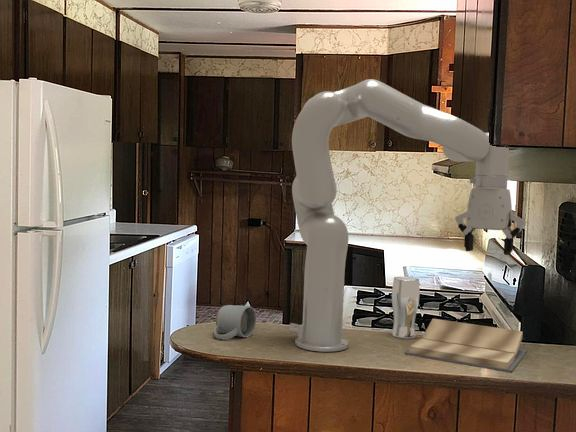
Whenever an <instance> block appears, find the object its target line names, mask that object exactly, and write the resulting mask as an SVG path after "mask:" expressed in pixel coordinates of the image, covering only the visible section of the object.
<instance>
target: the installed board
mask: <svg viewBox="0 0 576 432" xmlns="http://www.w3.org/2000/svg"><path fill="white" fill-rule="evenodd" d="M408 350H409V353H414V354H420V355H426V356H432V357H438V358H444V359H449V360H455V361H461V362H467V363H473V364H479V365H484V366H490V367H496V368H502V369H508V368H509V367H510V365H511V364H512V363H513V362H514V360H515V353H509V352H503V351H497V350H490V349H484V348H478V347H471V346H465V345H459V344H452V343H446V342H440V341H434V340H427V339H422V338H420V339H418V340H417V341H415V342H414V343H412V344H411V345H410V346H409V349H408Z"/></svg>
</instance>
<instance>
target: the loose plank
mask: <svg viewBox="0 0 576 432" xmlns="http://www.w3.org/2000/svg"><path fill="white" fill-rule="evenodd" d="M523 334H524V333H523V331H521V330H516V329H515V330H514V329H509V328H501V327H495V326H488V325H480V324H474V323H467V322H458V321H453V320H452V321H451V320H445V319H438V318H432V319H431V321H430V322H429V324H428V326H427V328H426V329H425V332H424V333H423V336H422V337H421V339H427V340H434V341H440V342H446V343H452V344H459V345H465V346H471V347H478V348H484V349H490V350H497V351H503V352H509V353H515V358H516V356H517V353H518V349H519V350H520V346H521V343H522V340H523Z"/></svg>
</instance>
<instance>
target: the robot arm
mask: <svg viewBox="0 0 576 432" xmlns="http://www.w3.org/2000/svg"><path fill="white" fill-rule="evenodd" d="M367 117H369V118H370V119H372V120H374V121H377V122H378V123H381V124H382V125H384V126H386V127H388V128H389V129H392V130H394V131H395V132H398V133H399V134H401V135H403V136H405V137H407V138H412V139H415V140H422V141H427V142H430V143H434V144H437V145H439V146H442V147H441V149H442V152H443V155H444V156H445V157H446V158H447V159H448V160H450V161H452V162H456V163H467V162H475V175H474V177H471V178H469V183H470V184H473V186H474V187H473V188H471V189H470V193H469V197H468V204H467V209H466V211H465V212H463V213H461V214H459V215H457V216H455V219H454V220H455V221H456V224H457V225H458V228H459V230H460V231H461V232H462V234H463V235H464V244H463V245H464V246H463V247H464V248H465V252H471V251H472V252H473V250H474V234H473V233H474V231H475V230H476V229H477V230H491V231H501V232H503V234H504V235H505V237H506V238H504V240H503V241H504V242H503V254H504V256H506V255H507V256H508V255H511V253H512V252H513V250H514V239H515V238H516V236H517V235H519V234H520V233H521V232H522V230H523V228H524V227H525V226H526V223H527V221H526V220H525V219H523V218H521V217H520V216H517V215H516V214H514V213H513V209H512V197H511V191H510V189H508V172H509V151H510V150H509V149H510V147H509V148H506V147H496V146H492V145H490V143H489V132H484V131H483V130H482V129H480V128H478V127H477V126H475V125H473V124H471V123H469V122H467V121H465V120H463V119H462V118H459V117H457V116H455V115H452V114H450V113H447V112H444V111H442V110H439V109H436V108H435V107H432V106H430V105H426V104H423V103H422V102H420V101H417V100H416V99H414V98H412V97H410V96H408V95H407V94H404V93H402V92H401V91H399V90H397V89H395V88H393V87H391V86H390V85H388V84H386V83H384V82H382V81H381V80H377V79H374V78H371V79H370V78H368V79H364V80H362V81H361V82H358V83H357V84H354V85H351V86H348V87H346V88H343V89H340V90H339V89H338V90H336V91H331V90H330V91H326V90H325V91H321V92H319V93H317V94H315V95H314V96H313V97H311V98H309V99H308V100H307V101H306V102H305V103H304V105H303V108H302V109H301V110H300V112H299V114H298V116H297V118H296V119H295V121H294V125H293V128H292V134H291V147H292V156H293V161H294V167H295V172H296V173H295V174H296V176H295V177H294V180H293V181H292V187H291V194H292V201H293V205H294V211H295V215H296V216H295V217H296V221H297V226H298V230H299V234H300V238H301V239H302V241H303V243H305V245H306V254H305V262H304V277H303V279H304V281H303V282H304V283H303V284H304V285H303V302H302V303H303V304H302V306H303V308H302V324H298V323H293V322H290V323H289V325H288V333H291V334H296V335H297V337H296V338H295V342H294V344H295V345H296V346H297V347H299V349H300V348H301V349H303V350H307V351H312V352H321V353H322V352H323V353H325V352H326V353H327V352H329V353H330V352H332V353H333V352H339V351H343V350H346V349H347V348H348V347H349V341H348V339H345V338H343V316H344V315H343V314H344V298H345V296H344V294H345V293H344V292H345V269H346V260H347V255H348V254H347V253H348V248H349V247H348V246H349V230H348V227H347V226H346V224H345V222H344V221H343V220H342V219H341V218H340V217H339V216H337V215H335V212H334V207H333V202H334V201H335V199H336V198H337V197H336V196H337V183H336V180H335V174H334V171H333V166H332V161H331V155H330V154H331V153H330V145H329V143H330V142H329V139H330V136H331V132H332V131H333V129H334V128H336V127H339V126H343V125H347V124H349V123H353V122H355V121H359V120H361V119H362V120H363V119H365V118H367ZM465 219H466V221H465V222H466V224H465V222H464V220H465ZM512 221H513V222H515V223H516V226H515V228H514V229H512V223H513V222H512Z"/></svg>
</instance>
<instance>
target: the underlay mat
mask: <svg viewBox="0 0 576 432" xmlns="http://www.w3.org/2000/svg"><path fill="white" fill-rule="evenodd" d="M527 352H528V350H526V349H525V350H524V349H520V348H519V349H518V353H517V356H516V358H515V360H514V362H513V363H512V364H511V365H510V367H509V368H508V369H502V368H496V367H490V366H484V365H479V364H473V363H467V362H461V361H455V360H449V359H444V358H438V357H432V356H426V355H420V354H414V353H409V349H407V350H405V351H404V355H406V356H407V355H408V356H413V357H420V358H425V359H431V360H437V361H443V362H447V363H455V364H460V365H466V366H471V367H478V368H482V369H487V370H488V369H490V370H495V371H500V372H505V373H511V374H512V373H513V372H514V370H515V369H516V368H517V366H518V365H519V364H520V362H521V361H522V359H523V358H524V357H525V356H526V354H527Z"/></svg>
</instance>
